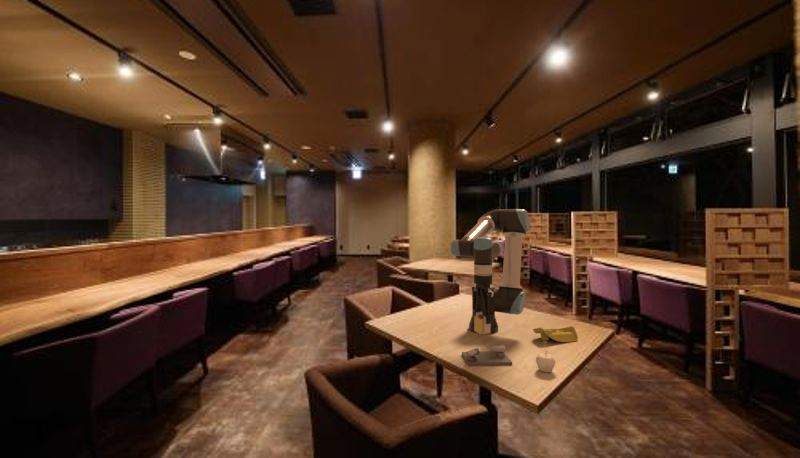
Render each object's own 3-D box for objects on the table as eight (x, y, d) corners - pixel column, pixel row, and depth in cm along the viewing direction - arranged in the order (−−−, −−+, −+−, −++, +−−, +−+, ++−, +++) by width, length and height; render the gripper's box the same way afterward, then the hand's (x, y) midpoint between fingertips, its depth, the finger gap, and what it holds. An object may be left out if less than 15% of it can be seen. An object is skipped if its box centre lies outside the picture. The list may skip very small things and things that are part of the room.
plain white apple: (558, 374, 139) (559, 353, 138) (540, 374, 138) (541, 354, 138) (549, 366, 146) (550, 346, 145) (532, 367, 145) (532, 347, 145)
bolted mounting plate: (502, 353, 159) (502, 341, 159) (512, 364, 147) (512, 351, 147) (461, 354, 158) (461, 342, 158) (468, 366, 146) (468, 353, 146)
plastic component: (560, 328, 186) (575, 325, 178) (564, 343, 183) (579, 341, 175) (529, 330, 180) (542, 326, 171) (532, 345, 177) (546, 343, 168)
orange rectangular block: (483, 329, 156) (483, 313, 156) (490, 333, 152) (490, 316, 152) (474, 331, 155) (474, 314, 154) (480, 334, 150) (481, 317, 150)
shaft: (473, 356, 153) (473, 347, 153) (480, 359, 150) (480, 349, 150) (465, 359, 150) (465, 350, 150) (472, 362, 147) (472, 352, 147)
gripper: (463, 271, 159) (463, 324, 160) (488, 278, 143) (488, 336, 144) (478, 270, 162) (478, 322, 163) (504, 276, 146) (503, 334, 147)
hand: (482, 329), depth 153 cm, fingers closed on orange rectangular block, 5 cm apart
